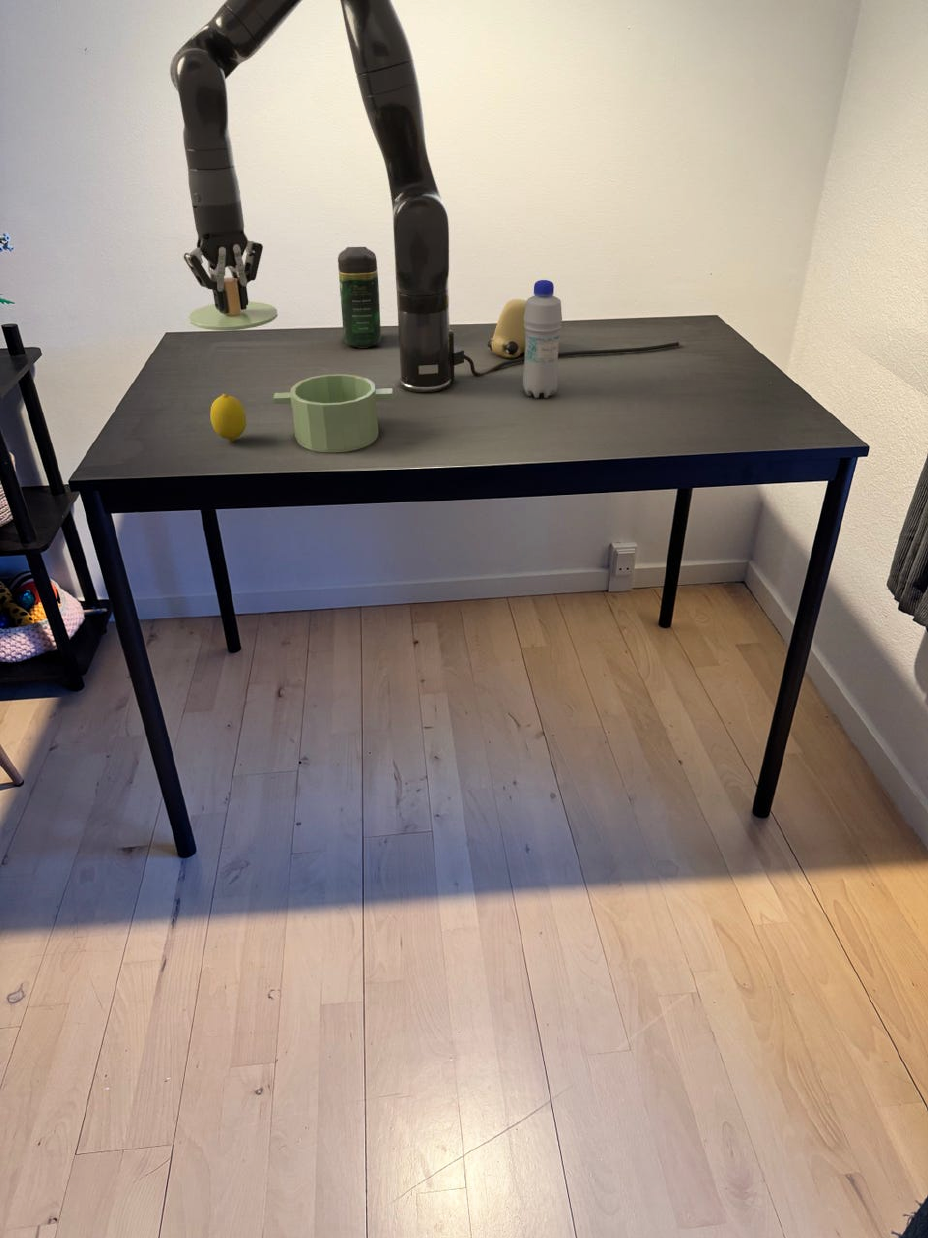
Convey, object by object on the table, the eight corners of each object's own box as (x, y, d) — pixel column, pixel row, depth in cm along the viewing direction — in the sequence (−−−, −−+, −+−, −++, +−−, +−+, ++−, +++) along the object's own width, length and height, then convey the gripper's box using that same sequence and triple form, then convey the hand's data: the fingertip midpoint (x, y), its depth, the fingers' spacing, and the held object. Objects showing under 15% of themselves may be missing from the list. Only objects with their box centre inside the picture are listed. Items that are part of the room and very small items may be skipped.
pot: (282, 421, 152) (276, 376, 148) (393, 417, 154) (391, 371, 149) (276, 455, 141) (269, 407, 136) (396, 449, 142) (393, 402, 138)
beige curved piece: (499, 364, 186) (469, 338, 178) (527, 313, 185) (499, 284, 177) (532, 375, 179) (502, 348, 171) (561, 322, 178) (533, 292, 170)
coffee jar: (382, 348, 184) (377, 253, 173) (344, 350, 183) (336, 255, 172) (380, 334, 191) (375, 242, 181) (343, 335, 191) (336, 243, 180)
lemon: (241, 449, 143) (233, 401, 138) (209, 446, 144) (200, 399, 139) (254, 435, 147) (247, 389, 143) (223, 433, 148) (215, 386, 144)
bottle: (533, 403, 158) (537, 287, 147) (514, 390, 163) (517, 278, 152) (565, 396, 161) (572, 282, 149) (545, 384, 166) (550, 273, 154)
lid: (197, 309, 155) (190, 269, 151) (281, 306, 156) (276, 267, 152) (183, 335, 143) (175, 292, 140) (274, 332, 144) (269, 289, 141)
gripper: (242, 189, 145) (257, 298, 155) (163, 200, 137) (184, 314, 147) (267, 195, 141) (280, 307, 150) (186, 207, 133) (206, 324, 143)
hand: (232, 310), depth 149 cm, fingers closed on lid, 3 cm apart
